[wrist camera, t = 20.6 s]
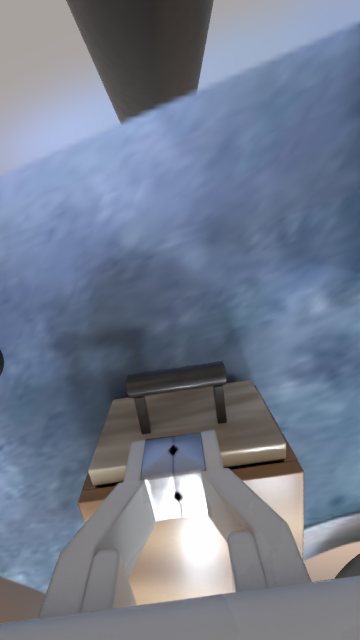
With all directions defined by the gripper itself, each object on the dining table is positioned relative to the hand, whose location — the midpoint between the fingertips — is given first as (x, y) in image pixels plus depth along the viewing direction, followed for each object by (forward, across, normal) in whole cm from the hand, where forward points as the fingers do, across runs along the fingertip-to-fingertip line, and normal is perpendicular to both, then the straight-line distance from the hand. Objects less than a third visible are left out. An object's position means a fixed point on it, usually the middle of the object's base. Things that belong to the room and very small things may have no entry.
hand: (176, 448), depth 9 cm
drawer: (+11, 0, +9) cm, 14 cm away
